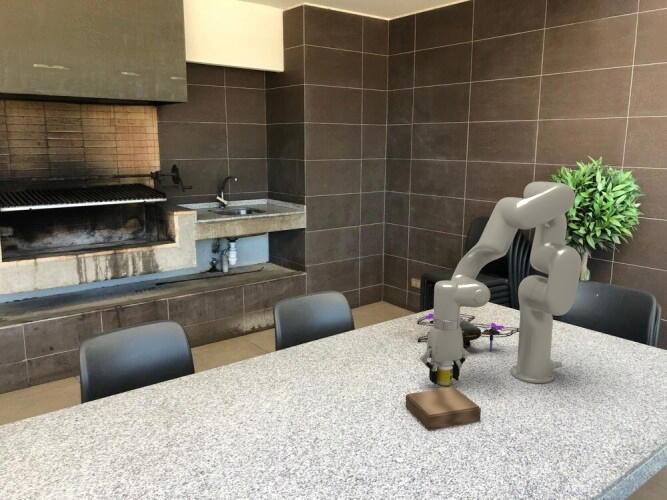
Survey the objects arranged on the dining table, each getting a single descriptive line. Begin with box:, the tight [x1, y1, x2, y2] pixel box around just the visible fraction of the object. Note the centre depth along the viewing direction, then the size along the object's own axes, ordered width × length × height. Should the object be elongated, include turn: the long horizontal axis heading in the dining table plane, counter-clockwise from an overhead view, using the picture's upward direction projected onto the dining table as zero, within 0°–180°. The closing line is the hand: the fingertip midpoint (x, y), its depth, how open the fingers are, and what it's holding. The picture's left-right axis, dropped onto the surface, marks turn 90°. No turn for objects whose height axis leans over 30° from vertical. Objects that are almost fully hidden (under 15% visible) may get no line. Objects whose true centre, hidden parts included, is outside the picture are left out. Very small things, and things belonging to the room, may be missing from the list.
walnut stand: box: [405, 386, 482, 431], centre depth 138 cm, size 15×13×4 cm
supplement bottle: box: [435, 361, 453, 389], centre depth 155 cm, size 5×5×8 cm
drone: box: [416, 313, 519, 352], centre depth 189 cm, size 40×10×28 cm
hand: (444, 380), depth 156 cm, fingers open, 6 cm apart
